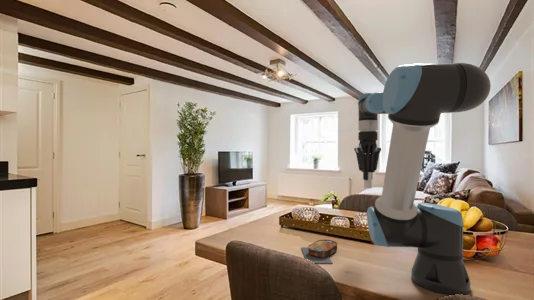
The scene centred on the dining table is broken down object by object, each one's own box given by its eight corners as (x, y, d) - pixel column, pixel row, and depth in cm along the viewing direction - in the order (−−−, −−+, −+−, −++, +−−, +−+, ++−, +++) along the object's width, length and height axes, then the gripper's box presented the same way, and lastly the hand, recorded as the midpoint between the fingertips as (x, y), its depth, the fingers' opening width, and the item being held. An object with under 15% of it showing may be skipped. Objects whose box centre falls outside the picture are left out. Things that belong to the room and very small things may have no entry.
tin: (324, 252, 101) (304, 246, 106) (323, 261, 101) (303, 254, 106) (340, 242, 113) (321, 236, 118) (340, 249, 113) (321, 244, 118)
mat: (332, 263, 99) (332, 263, 99) (307, 263, 99) (307, 263, 99) (323, 248, 115) (323, 247, 115) (301, 248, 115) (301, 247, 115)
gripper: (372, 132, 123) (372, 186, 123) (349, 131, 118) (349, 187, 117) (386, 131, 116) (386, 188, 116) (362, 130, 111) (362, 189, 111)
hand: (367, 187), depth 117 cm, fingers closed
